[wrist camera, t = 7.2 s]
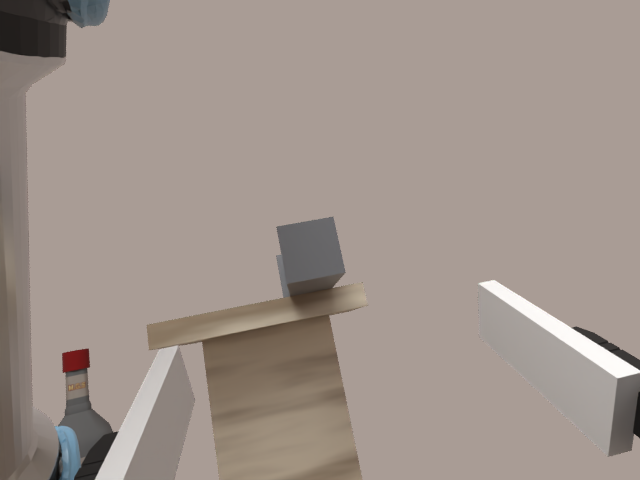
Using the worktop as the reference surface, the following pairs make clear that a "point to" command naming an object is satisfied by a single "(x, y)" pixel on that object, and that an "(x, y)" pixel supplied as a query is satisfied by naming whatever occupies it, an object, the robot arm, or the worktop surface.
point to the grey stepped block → (309, 257)
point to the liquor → (81, 403)
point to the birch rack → (275, 385)
